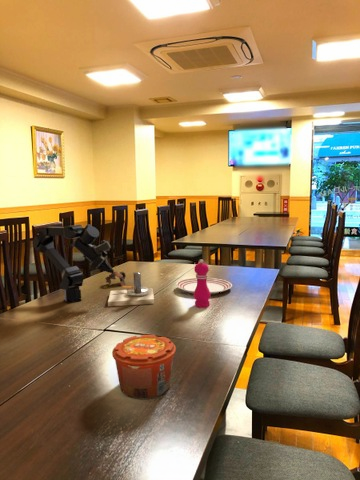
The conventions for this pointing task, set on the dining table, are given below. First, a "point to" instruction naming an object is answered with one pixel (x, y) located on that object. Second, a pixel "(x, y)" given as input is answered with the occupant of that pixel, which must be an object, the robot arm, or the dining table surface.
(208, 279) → the dinner plate
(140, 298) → the stand
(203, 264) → the pepper mill
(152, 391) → the food container
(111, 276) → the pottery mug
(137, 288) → the shiny grey rounded pieces
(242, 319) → the dining table surface
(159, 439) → the dining table surface
